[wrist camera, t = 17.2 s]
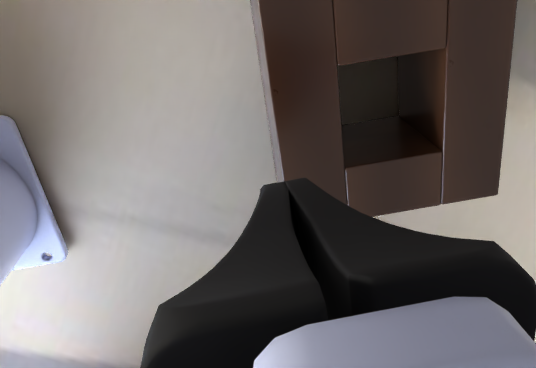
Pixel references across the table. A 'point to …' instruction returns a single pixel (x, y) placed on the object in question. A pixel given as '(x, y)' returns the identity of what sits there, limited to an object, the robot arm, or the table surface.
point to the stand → (409, 91)
